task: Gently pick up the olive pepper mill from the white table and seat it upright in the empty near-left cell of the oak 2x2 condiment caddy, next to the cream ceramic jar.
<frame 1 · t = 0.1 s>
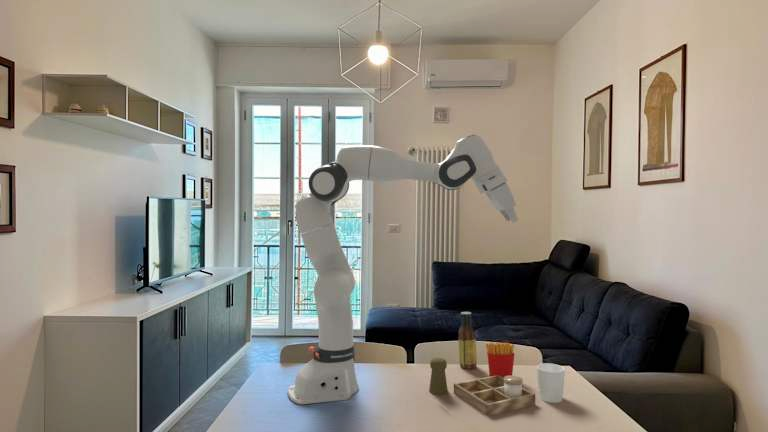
hand: (512, 220, 147), 54 cm above the table, tool tilted 30°, fingers open, 8 cm apart
sauce bottle: (467, 367, 172), on the table
white cup: (550, 400, 143), on the table
oak caddy: (493, 400, 142), on the table
french fries: (499, 381, 158), on the table
cream ceramic jar: (513, 401, 140), point 1 cm above the table, touching oak caddy
olive pepper mill: (438, 394, 148), on the table
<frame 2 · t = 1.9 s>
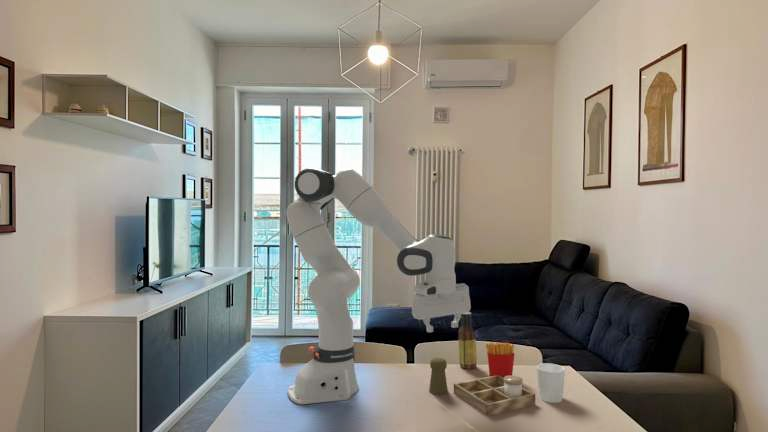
hand: (442, 329, 148), 20 cm above the table, tool pointing down, fingers open, 8 cm apart
nothing on the table moved.
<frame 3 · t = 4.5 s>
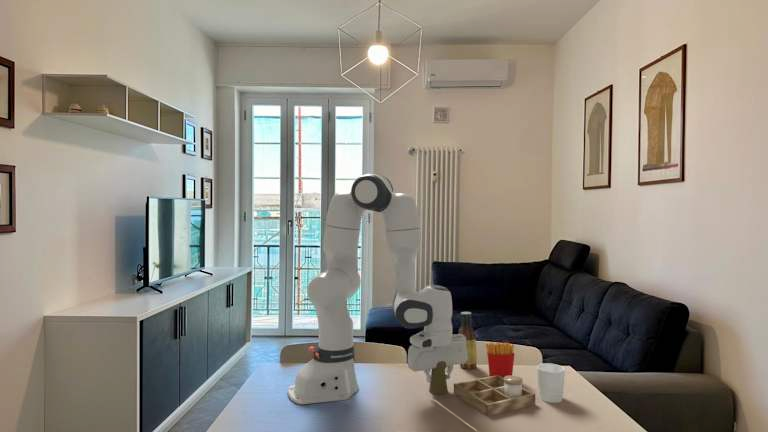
hand: (438, 380, 148), 4 cm above the table, tool pointing down, fingers closed on olive pepper mill, 5 cm apart
olive pepper mill: (438, 393, 148), on the table, touching gripper
everything else where it was.
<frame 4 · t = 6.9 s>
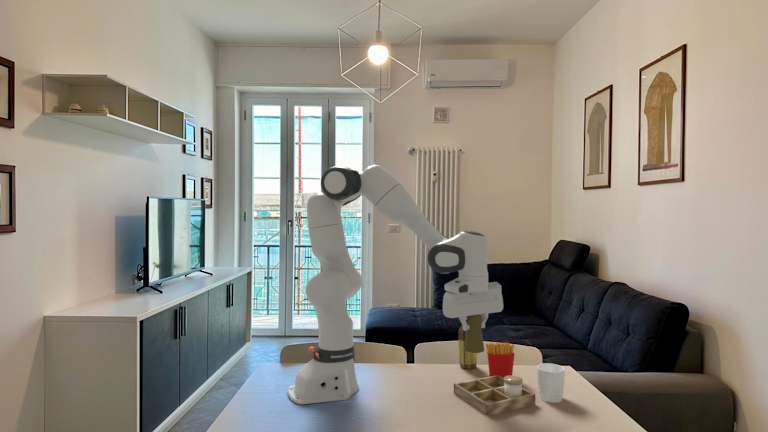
hand: (473, 329, 144), 21 cm above the table, tool pointing down, fingers closed on olive pepper mill, 4 cm apart
olive pepper mill: (474, 350, 144), point 15 cm above the table, touching gripper
everything else where it was.
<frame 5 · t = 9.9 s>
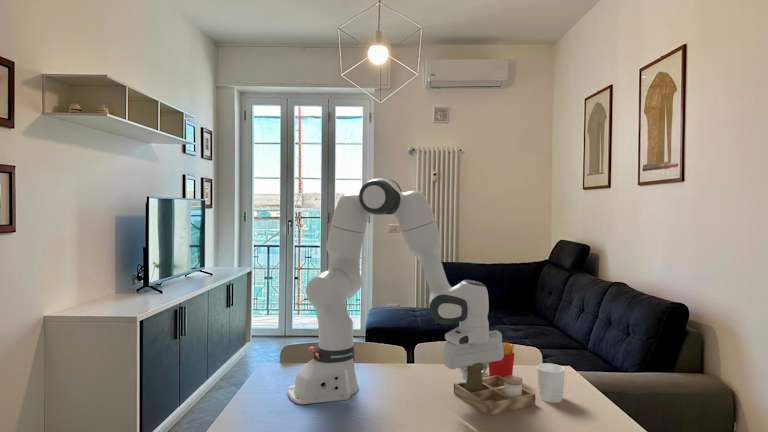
hand: (474, 378, 144), 6 cm above the table, tool pointing down, fingers closed on olive pepper mill, 4 cm apart
olive pepper mill: (474, 396, 144), point 1 cm above the table, touching gripper, oak caddy
everything else where it was.
when the fingers open (6 cm above the table, at t = 10.6 s): olive pepper mill stays where it is, resting on oak caddy.
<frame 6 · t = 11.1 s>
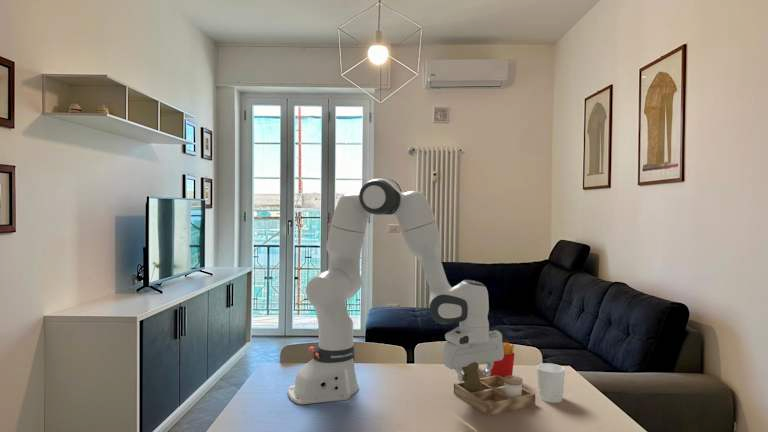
hand: (474, 378, 144), 6 cm above the table, tool pointing down, fingers open, 8 cm apart
olive pepper mill: (474, 395, 144), point 1 cm above the table, touching gripper, oak caddy
everything else where it was.
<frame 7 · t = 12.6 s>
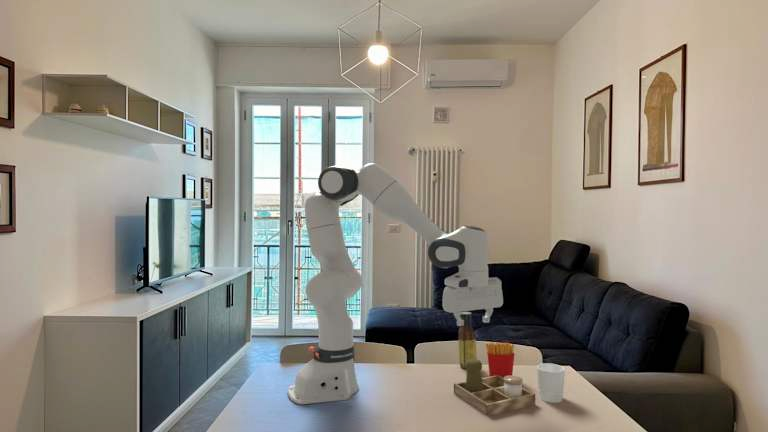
hand: (473, 324, 144), 23 cm above the table, tool pointing down, fingers open, 8 cm apart
olive pepper mill: (474, 396, 144), point 1 cm above the table, touching oak caddy
everything else where it was.
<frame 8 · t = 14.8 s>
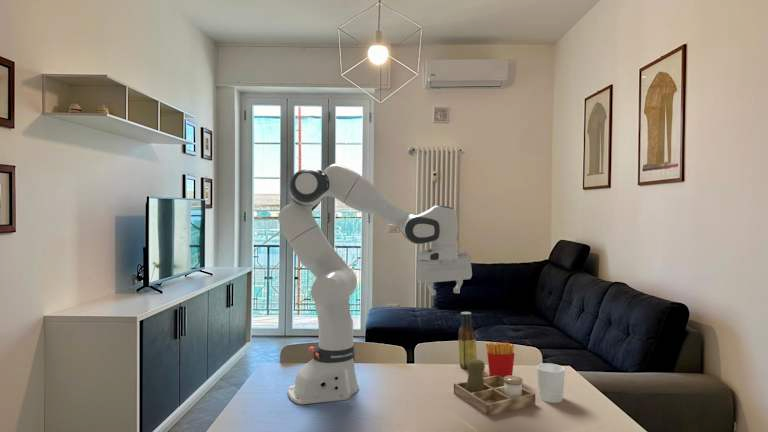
hand: (444, 294, 159), 29 cm above the table, tool pointing down, fingers open, 8 cm apart
nothing on the table moved.
at the end: olive pepper mill 0.3 cm from the target spot on the oak caddy, point 0.6 cm above the oak caddy's base; olive pepper mill tilted 2°; the gripper is holding nothing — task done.
